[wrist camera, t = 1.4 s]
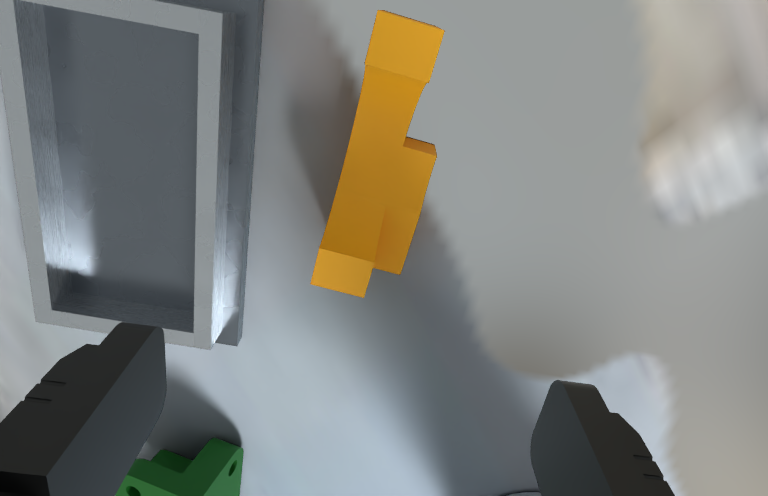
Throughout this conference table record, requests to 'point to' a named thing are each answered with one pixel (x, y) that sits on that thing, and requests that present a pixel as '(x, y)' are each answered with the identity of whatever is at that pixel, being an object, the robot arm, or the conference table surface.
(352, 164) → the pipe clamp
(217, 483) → the clamp
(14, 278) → the conference table surface
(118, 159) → the grey metal tray
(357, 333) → the conference table surface
